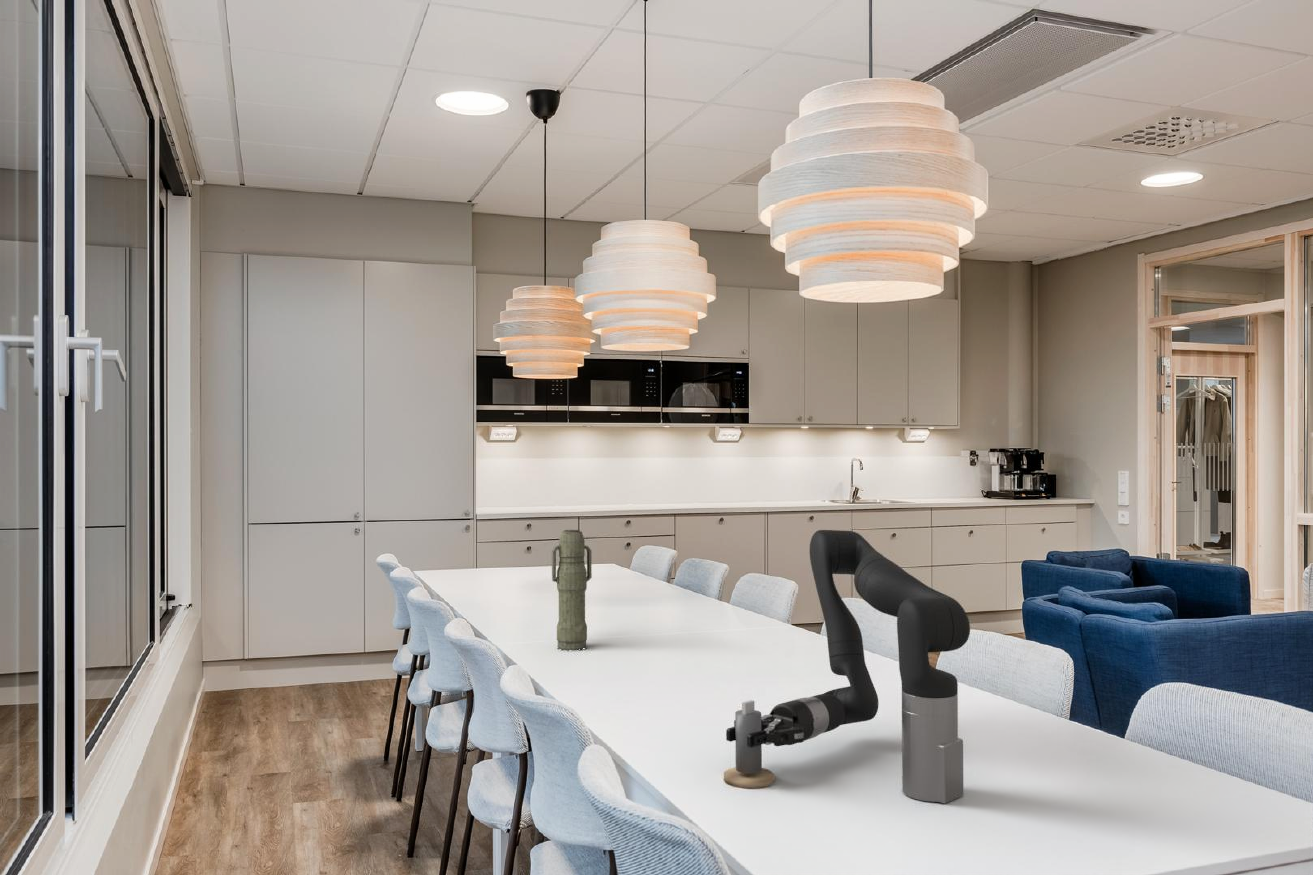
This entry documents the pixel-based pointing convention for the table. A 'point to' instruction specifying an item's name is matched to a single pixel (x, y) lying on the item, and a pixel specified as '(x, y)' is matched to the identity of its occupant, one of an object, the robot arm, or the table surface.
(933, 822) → the table surface
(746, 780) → the coaster
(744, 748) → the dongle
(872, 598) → the robot arm
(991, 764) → the table surface
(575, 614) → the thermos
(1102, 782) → the table surface
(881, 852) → the table surface
